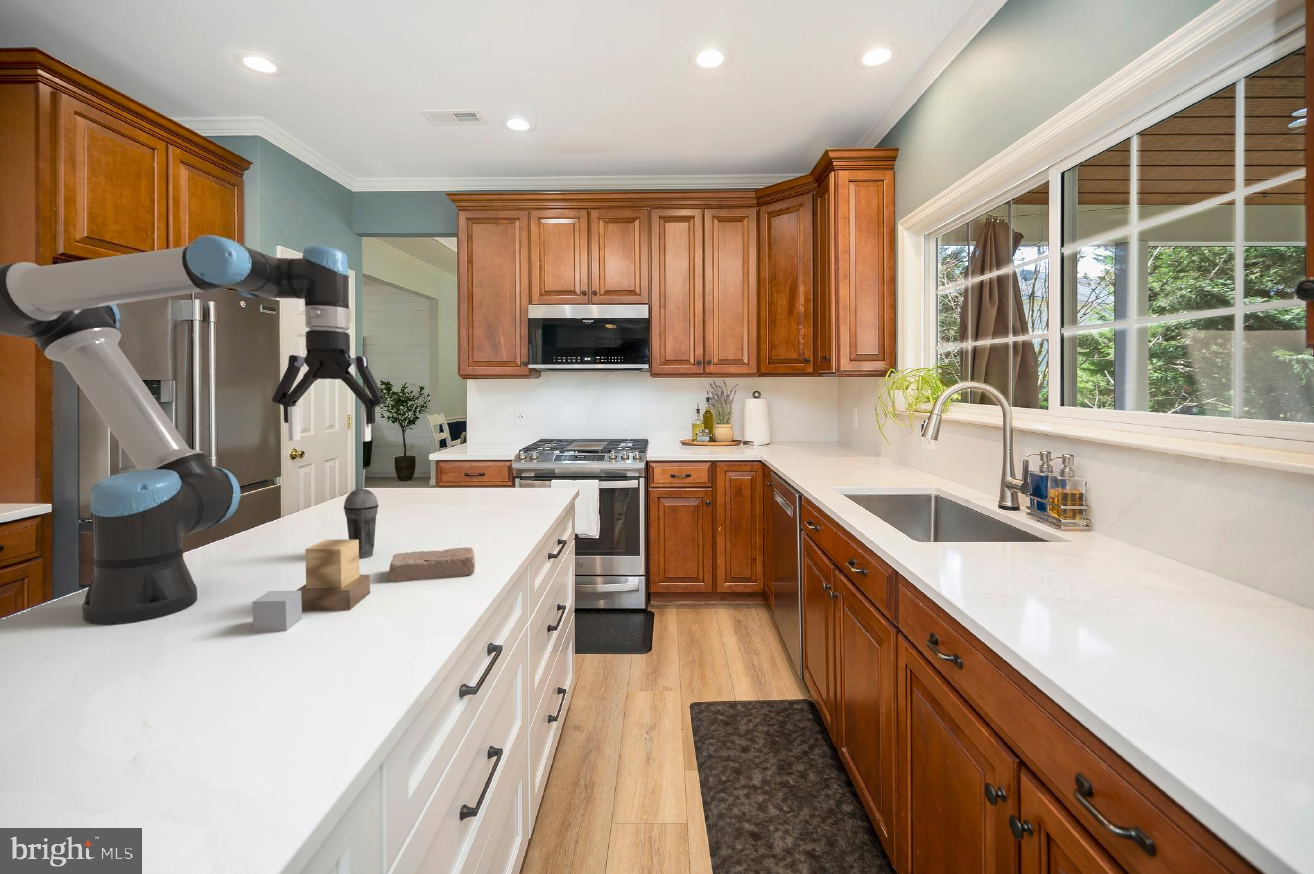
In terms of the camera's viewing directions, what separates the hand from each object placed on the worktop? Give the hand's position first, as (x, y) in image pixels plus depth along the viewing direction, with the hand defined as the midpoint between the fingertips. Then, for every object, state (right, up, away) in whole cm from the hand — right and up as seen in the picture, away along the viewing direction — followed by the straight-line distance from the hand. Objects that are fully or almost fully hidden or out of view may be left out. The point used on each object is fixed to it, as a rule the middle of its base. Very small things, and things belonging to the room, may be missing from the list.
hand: (330, 440), depth 118 cm
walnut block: (+5, -30, -8) cm, 31 cm away
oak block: (+5, -26, -9) cm, 28 cm away
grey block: (+2, -30, -20) cm, 36 cm away
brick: (+17, -29, +9) cm, 34 cm away
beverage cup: (-4, -27, +22) cm, 35 cm away
